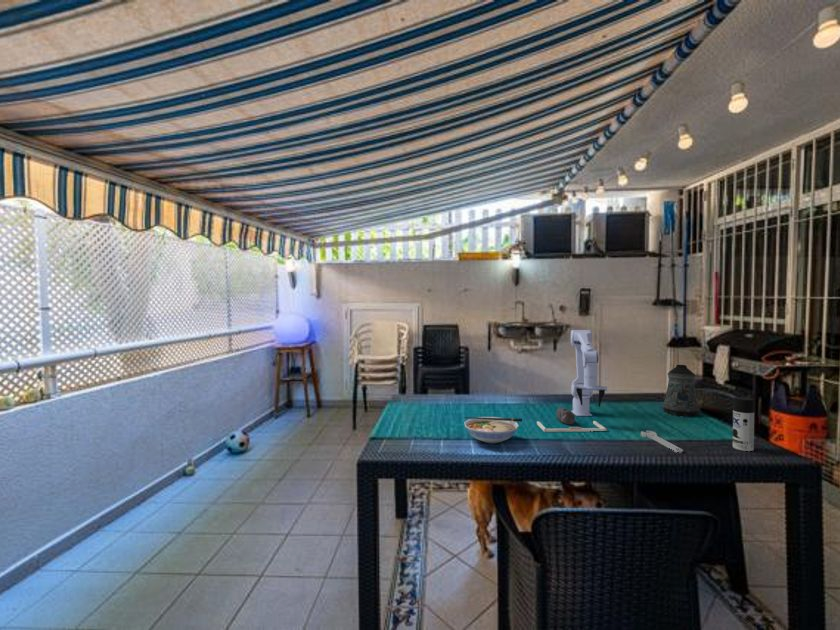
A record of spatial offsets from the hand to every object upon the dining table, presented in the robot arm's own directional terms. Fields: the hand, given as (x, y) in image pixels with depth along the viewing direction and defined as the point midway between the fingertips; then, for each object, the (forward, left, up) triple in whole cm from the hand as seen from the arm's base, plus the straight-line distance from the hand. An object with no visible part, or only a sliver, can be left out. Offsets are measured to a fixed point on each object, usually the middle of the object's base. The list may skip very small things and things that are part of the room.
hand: (590, 405), depth 199 cm
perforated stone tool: (-7, -10, -10) cm, 16 cm away
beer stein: (-23, +56, -10) cm, 61 cm away
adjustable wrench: (+24, +19, -10) cm, 32 cm away
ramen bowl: (+21, -50, -10) cm, 55 cm away
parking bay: (+2, -10, -10) cm, 14 cm away
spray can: (+33, +47, -10) cm, 58 cm away
